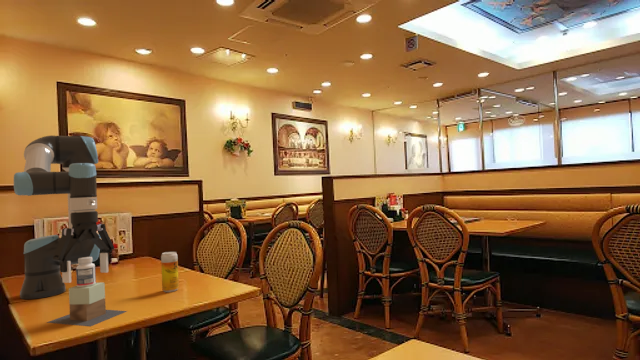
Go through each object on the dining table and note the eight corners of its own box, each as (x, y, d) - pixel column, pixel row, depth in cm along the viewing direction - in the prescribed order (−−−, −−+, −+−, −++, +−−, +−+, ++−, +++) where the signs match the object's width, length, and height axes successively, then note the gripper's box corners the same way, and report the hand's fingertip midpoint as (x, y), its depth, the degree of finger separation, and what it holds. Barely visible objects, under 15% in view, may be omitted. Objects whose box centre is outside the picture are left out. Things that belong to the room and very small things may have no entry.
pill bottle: (82, 283, 127) (81, 256, 127) (98, 282, 128) (97, 255, 128) (73, 288, 122) (72, 259, 122) (90, 286, 122) (89, 258, 123)
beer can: (173, 292, 151) (171, 254, 151) (159, 292, 152) (157, 254, 152) (181, 288, 157) (180, 251, 157) (168, 288, 158) (166, 251, 158)
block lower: (69, 319, 122) (69, 303, 122) (89, 312, 129) (88, 297, 129) (86, 321, 120) (86, 304, 120) (105, 313, 127) (105, 298, 127)
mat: (46, 323, 121) (46, 322, 121) (86, 309, 134) (86, 308, 134) (90, 327, 115) (90, 326, 115) (127, 312, 128) (127, 311, 128)
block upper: (69, 304, 122) (68, 288, 122) (85, 297, 129) (85, 282, 129) (89, 304, 121) (88, 288, 121) (105, 297, 128) (104, 282, 128)
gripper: (55, 214, 112) (58, 287, 112) (124, 208, 136) (126, 268, 136) (36, 214, 114) (39, 286, 114) (107, 208, 138) (109, 268, 138)
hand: (86, 277), depth 125 cm, fingers open, 13 cm apart
